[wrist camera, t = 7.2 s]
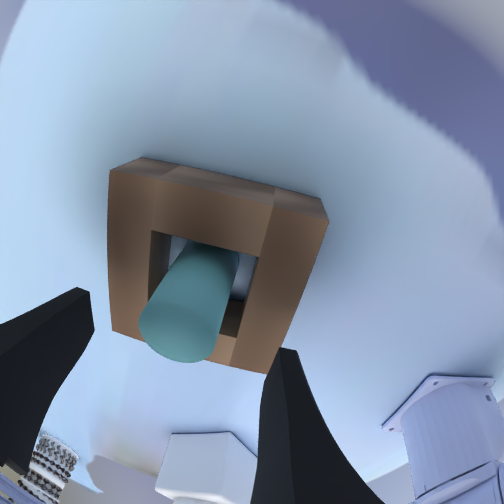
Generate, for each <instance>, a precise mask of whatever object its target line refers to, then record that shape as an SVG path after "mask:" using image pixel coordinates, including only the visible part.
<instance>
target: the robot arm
mask: <svg viewBox="0 0 504 504" xmlns="http://www.w3.org/2000/svg"><path fill="white" fill-rule="evenodd" d="M94 331H95V329H94V323H93V316H92V309H91V301H90V292H89V291H86V290H84V289H81V288H78V287H76V288H74V289H71V290H69V291H67V292H65V293H63V294H61V295H59V296H58V297H56V298H54V299H52V300H50V301H48V302H46V303H44V304H42V305H40V306H38V307H36V308H34V309H33V310H31V311H28V312H26V313H24V314H22V315H20V316H18V317H16V318H14V319H12V320H10V321H7V322H5V323H2V324H0V466H1V467H3V466H4V464H6V465H7V466H9V467H10V468H11V469H13V470H14V471H15V472H17V473H18V474H20V475H26V474H28V470H29V465H30V461H31V457H32V452H33V449H34V446H35V442H36V439H37V436H38V433H39V430H40V428H41V425H42V423H43V420H44V418H45V415H46V413H47V411H48V409H49V406H50V404H51V402H52V400H53V398H54V396H55V395H56V393H57V391H58V389H59V388H60V386H61V385H62V383H63V382H64V380H65V379H66V377H67V376H68V374H69V373H70V371H71V370H72V369H73V367H74V366H75V364H76V363H77V361H78V360H79V358H80V357H81V355H82V354H83V352H84V351H85V349H86V347H87V345H88V343H89V341H90V339H91V337H92V335H93V333H94ZM494 383H495V379H494V378H475V377H448V376H430V377H428V378H427V379H426V380H425V381H424V382H423V384H422V385H421V386H420V387H419V388H418V389H417V390H416V392H415V393H414V394H413V395H412V396H411V397H410V398H409V399H408V400H407V402H406V403H405V404H404V405H403V406H402V407H401V408H400V409H399V410H398V411H397V412H396V413H395V414H394V415H393V416H392V417H391V418H390V419H389V420H388V421H387V422H386V423H385V424H384V425H383V426H382V431H383V432H403V436H404V441H405V445H406V450H407V455H408V460H409V465H410V470H411V476H412V482H413V488H414V494H415V501H413V502H411V503H409V504H504V463H502V462H503V461H504V418H503V416H502V413H501V411H500V409H499V406H498V404H497V402H496V400H495V398H494V395H493V393H492V391H491V389H490V387H491V386H492V385H493V384H494ZM0 490H1V491H2V492H4V493H5V494H6V495H7V496H9V497H10V498H11V499H13V500H14V501H15V502H17V503H18V504H45V503H43V502H42V501H40V500H38V499H37V498H35V497H34V496H32V495H31V494H29V493H28V492H26V491H25V490H23V489H22V488H20V487H19V486H18V485H16V484H15V483H13V482H12V481H11V480H10V479H8V478H7V477H6V476H4V475H3V474H2V473H0ZM0 504H14V503H13V502H11V501H9V500H8V499H6V498H5V497H3V496H2V495H0ZM250 504H385V503H384V502H383V501H381V500H380V499H379V498H378V497H377V496H376V494H374V492H373V491H372V490H371V489H370V488H369V487H368V486H367V485H366V483H365V482H364V481H363V480H362V478H361V477H360V476H359V475H358V473H357V472H356V471H355V469H354V468H353V467H352V466H351V464H350V463H349V462H348V460H347V459H346V457H345V456H344V454H343V453H342V451H341V450H340V448H339V446H338V445H337V443H336V441H335V440H334V438H333V436H332V434H331V433H330V431H329V429H328V427H327V425H326V423H325V421H324V419H323V417H322V415H321V413H320V411H319V409H318V406H317V404H316V402H315V399H314V397H313V395H312V392H311V390H310V387H309V385H308V382H307V379H306V376H305V374H304V371H303V368H302V365H301V362H300V359H299V355H298V353H297V351H296V350H291V349H286V348H282V347H279V349H278V351H277V353H276V356H275V358H274V360H273V363H272V365H271V367H270V370H269V372H268V374H267V377H266V379H265V381H264V386H263V392H262V398H261V404H260V418H259V439H258V459H257V468H256V474H255V480H254V486H253V491H252V496H251V501H250Z"/></svg>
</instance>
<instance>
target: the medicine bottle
mask: <svg viewBox="0 0 504 504" xmlns="http://www.w3.org/2000/svg"><path fill="white" fill-rule="evenodd" d="M257 459H258V458H257V457H255V456H254V455H253V454H252V453H251V452H250V451H249V450H248V449H247V448H246V447H245V446H244V445H243V444H242V443H241V442H240V441H239V440H238V439H237V438H236V437H235V436H234V435H233V434H232V433H231V432H223V433H203V434H172V435H171V436H170V439H169V442H168V446H167V449H166V452H165V455H164V458H163V462H162V465H161V468H160V471H159V475H158V478H157V482H156V484H155V490H156V491H157V492H159V493H161V494H163V495H165V496H166V497H168V498H170V499H172V500H174V501H175V503H172V504H250V501H251V496H252V491H253V486H254V480H255V474H256V468H257Z"/></svg>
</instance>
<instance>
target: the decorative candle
mask: <svg viewBox="0 0 504 504" xmlns="http://www.w3.org/2000/svg"><path fill="white" fill-rule="evenodd" d="M42 437H43V439H40V440H39V443H40V444H37V446H36V449H37V452H35V451H34V452H33V455H34V457H31V462H30V465H29V470H28V474H26V475H25V476H24V477H21V479H22V480H23V481H22V480H18V483H19V485H20V486H19V487H20V488H22V489H23V490H25V491H26V492H28V493H29V494H31V495H32V496H34V497H35V498H37V499H38V500H40V501H42V502H43V503H45V504H58V503H59V502H60V501H59V500H58V497H59V495H60V493H61V491H62V489H63V488H64V485H65V483H68V480H67V478H66V477H70V476H71V475H70V474H69V471H73V470H74V467H73V465H76V463H77V462H76V460H75V459H78V458H79V457H78V455H77V454H76V453H75V452H74V451H73V450H71V449H70V448H69V447H68V446H66V445H65V444H63V443H62V442H60V441H58V440H57V439H55V438H53V437H51V436H49V435H47V434H43V435H42ZM8 500H9V501H11V502H13V503H14V504H18V503H17V502H15V501H14V500H13V499H11V498H9V499H8Z"/></svg>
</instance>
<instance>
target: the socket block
mask: <svg viewBox="0 0 504 504" xmlns="http://www.w3.org/2000/svg"><path fill="white" fill-rule="evenodd" d="M328 224H329V219H328V217H327V214H326V212H325V209H324V207H323V204H322V202H321V199H318V198H315V197H311V196H308V195H304V194H301V193H297V192H293V191H289V190H286V189H282V188H278V187H274V186H270V185H267V184H263V183H259V182H255V181H250V180H246V179H242V178H238V177H234V176H229V175H225V174H221V173H216V172H212V171H207V170H202V169H198V168H193V167H188V166H183V165H178V164H173V163H168V162H163V161H157V160H152V159H146V158H138V159H136V160H133V161H131V162H128V163H126V164H123V165H121V166H118V167H116V168H114V169H111V170H110V175H109V190H108V215H107V259H108V284H109V300H110V312H111V323H112V331H115V332H118V333H120V334H123V335H126V336H129V337H132V338H134V339H137V340H140V341H143V342H145V340H144V339H143V337H142V335H141V333H140V330H139V325H138V321H139V316H140V314H141V312H142V311H143V309H144V308H145V306H146V304H147V303H148V301H149V300H150V298H151V297H152V295H153V293H154V292H155V290H156V289H157V287H158V286H159V284H160V283H161V281H162V280H163V278H164V277H165V275H166V274H167V272H168V262H169V252H170V242H171V235H173V236H177V237H181V238H185V239H189V240H193V241H197V242H201V243H205V244H209V245H213V246H217V247H221V248H225V249H229V250H233V251H237V252H241V253H245V254H248V255H252V256H256V260H255V264H254V268H253V271H252V275H251V279H250V283H249V286H248V290H247V294H246V297H245V301H244V302H241V301H237V300H233V299H228V303H227V306H226V310H225V313H224V317H223V320H222V324H221V327H220V331H219V334H218V338H217V341H216V345H215V348H214V351H213V352H212V354H211V355H210V356H209V357H207V358H206V359H204V360H207V361H211V362H215V363H219V364H223V365H227V366H231V367H235V368H239V369H244V370H248V371H253V372H257V373H262V374H268V372H269V370H270V367H271V365H272V363H273V360H274V358H275V356H276V353H277V351H278V349H279V347H281V346H282V343H283V341H284V338H285V336H286V334H287V331H288V329H289V326H290V324H291V322H292V319H293V317H294V314H295V312H296V309H297V307H298V304H299V302H300V299H301V297H302V294H303V292H304V289H305V286H306V284H307V281H308V279H309V276H310V273H311V271H312V268H313V265H314V263H315V260H316V257H317V255H318V252H319V249H320V246H321V244H322V241H323V238H324V235H325V232H326V230H327V227H328Z"/></svg>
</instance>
